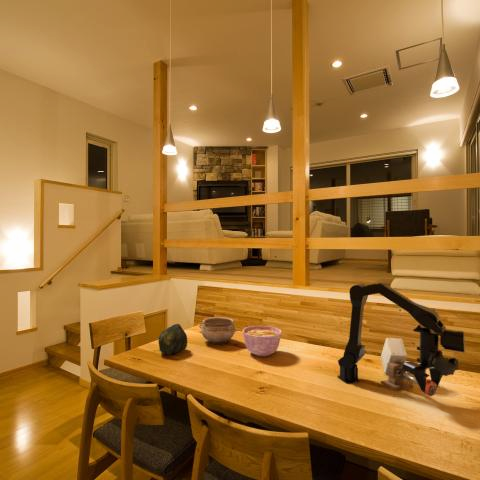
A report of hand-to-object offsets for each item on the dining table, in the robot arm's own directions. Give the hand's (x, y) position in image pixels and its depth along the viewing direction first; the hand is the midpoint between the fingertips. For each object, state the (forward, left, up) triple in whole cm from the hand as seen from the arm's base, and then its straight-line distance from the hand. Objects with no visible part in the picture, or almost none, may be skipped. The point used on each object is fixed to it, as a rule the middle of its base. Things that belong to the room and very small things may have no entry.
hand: (429, 390), depth 107 cm
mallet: (0, +7, -2) cm, 7 cm away
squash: (-81, +78, -5) cm, 113 cm away
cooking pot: (-55, +86, -5) cm, 102 cm away
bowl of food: (-38, +62, -5) cm, 73 cm away
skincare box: (+8, +26, -2) cm, 27 cm away
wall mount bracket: (0, +14, -4) cm, 15 cm away
